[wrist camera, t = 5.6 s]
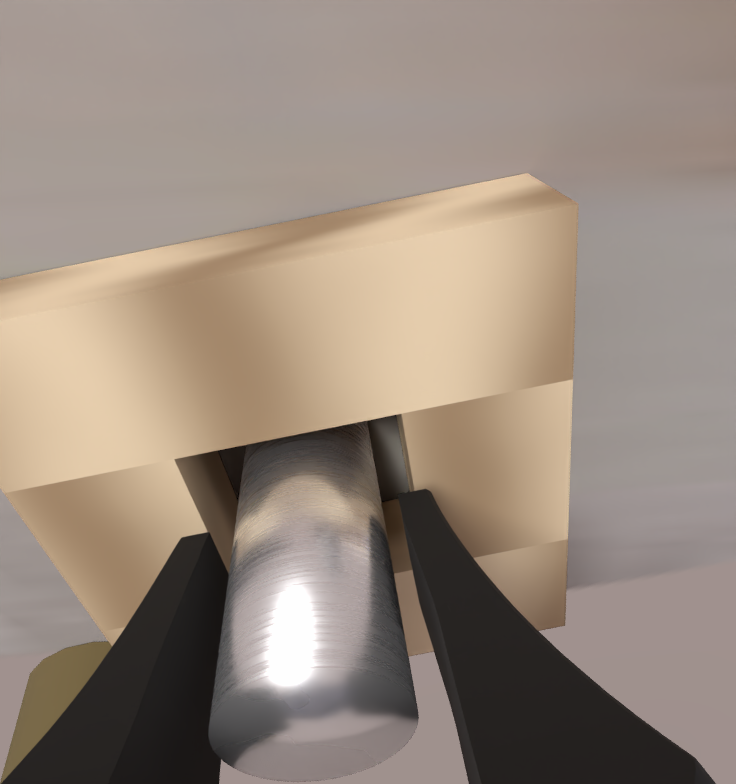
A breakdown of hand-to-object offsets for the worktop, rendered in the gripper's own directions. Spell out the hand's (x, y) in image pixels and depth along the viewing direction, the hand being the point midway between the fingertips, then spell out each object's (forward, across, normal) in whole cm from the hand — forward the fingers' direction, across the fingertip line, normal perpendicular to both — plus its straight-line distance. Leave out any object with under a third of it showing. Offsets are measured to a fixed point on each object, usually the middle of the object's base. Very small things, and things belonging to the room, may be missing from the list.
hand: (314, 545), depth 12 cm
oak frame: (+3, 0, 0) cm, 3 cm away
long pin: (+3, 0, 0) cm, 3 cm away
